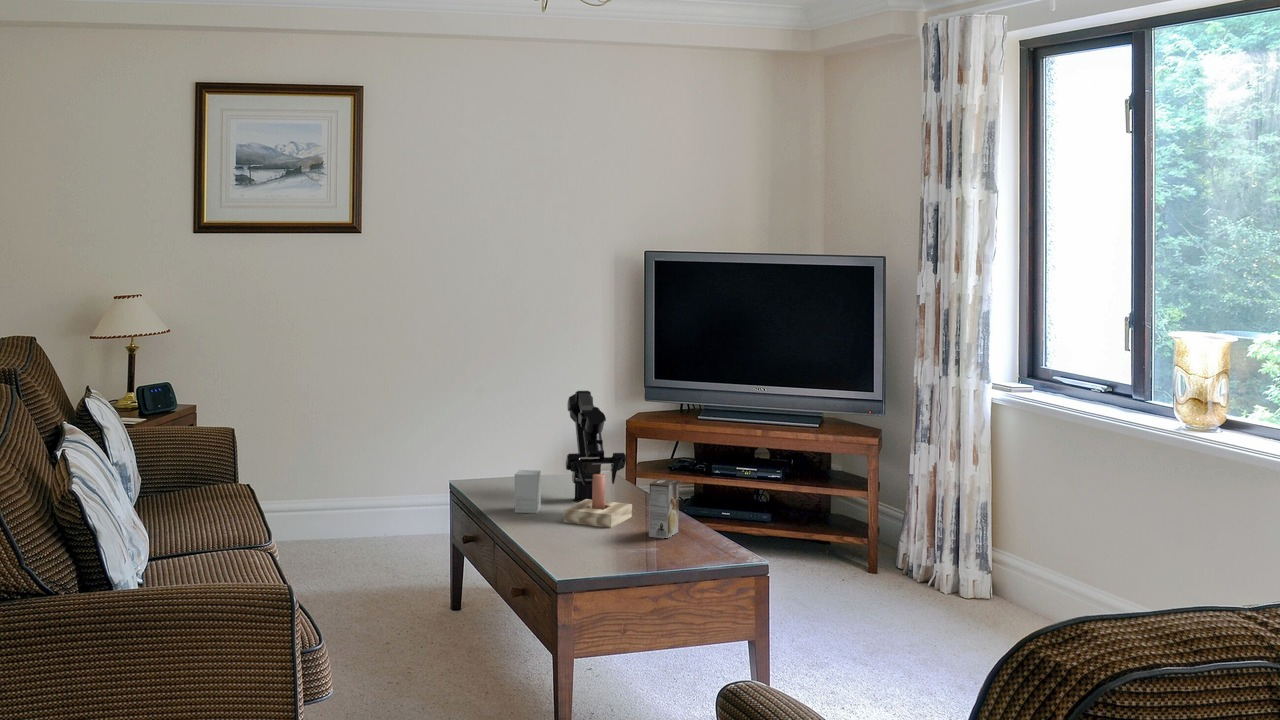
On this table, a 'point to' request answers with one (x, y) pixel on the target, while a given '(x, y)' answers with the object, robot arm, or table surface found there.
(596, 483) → the peg
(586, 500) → the socket board
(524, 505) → the supplement box
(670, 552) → the table surface
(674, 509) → the white food box
